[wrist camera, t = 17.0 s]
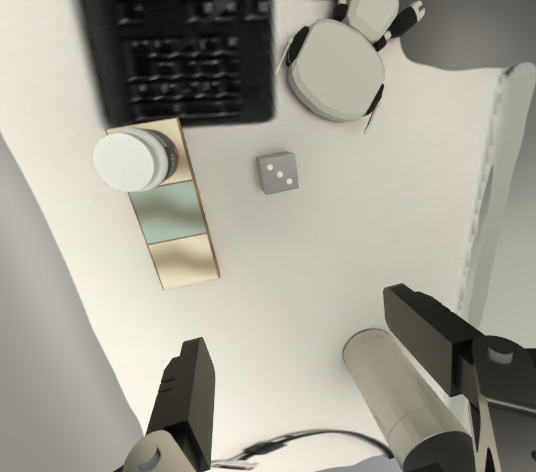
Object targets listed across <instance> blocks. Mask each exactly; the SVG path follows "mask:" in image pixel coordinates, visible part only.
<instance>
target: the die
mask: <svg viewBox="0 0 536 472" xmlns="http://www.w3.org/2000/svg"><path fill="white" fill-rule="evenodd" d="M256 159H257V165H258V170H259V176H260V181H261V187H262V190H263V191H264V193H265V194H266V195H267V194H272V193H277V192H282V191H287V190H292V189H296V188H299V186H298V178H297V170H296V163H295V155H294V153H291V152H282V153H277V154H272V155H266V156H261V157H256Z"/></svg>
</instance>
